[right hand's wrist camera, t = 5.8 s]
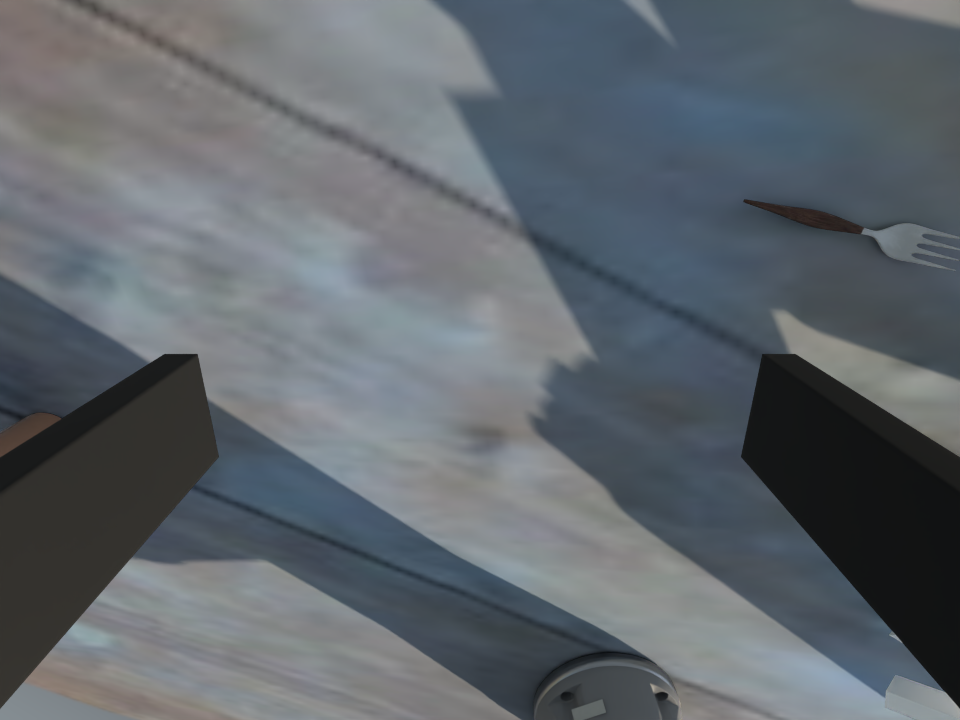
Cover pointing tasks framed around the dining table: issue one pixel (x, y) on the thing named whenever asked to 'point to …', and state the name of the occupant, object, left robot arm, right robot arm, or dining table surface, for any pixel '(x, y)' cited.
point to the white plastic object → (919, 699)
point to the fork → (870, 232)
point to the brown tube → (25, 430)
